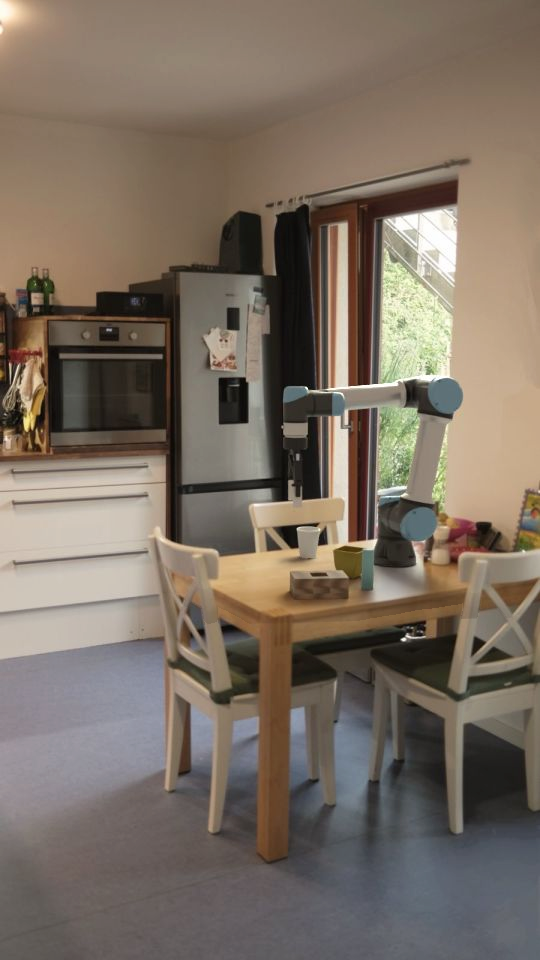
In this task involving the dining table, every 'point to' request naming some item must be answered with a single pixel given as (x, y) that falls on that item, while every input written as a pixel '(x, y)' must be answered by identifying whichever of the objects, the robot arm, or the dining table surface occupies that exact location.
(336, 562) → the flower pot
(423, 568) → the dining table surface
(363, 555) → the pin
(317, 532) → the dixie cup
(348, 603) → the dining table surface
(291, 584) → the block
